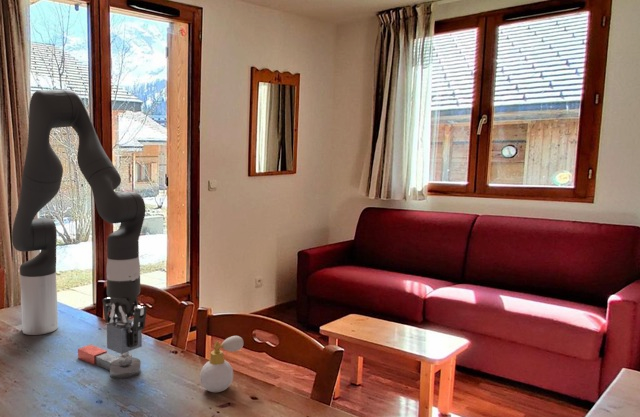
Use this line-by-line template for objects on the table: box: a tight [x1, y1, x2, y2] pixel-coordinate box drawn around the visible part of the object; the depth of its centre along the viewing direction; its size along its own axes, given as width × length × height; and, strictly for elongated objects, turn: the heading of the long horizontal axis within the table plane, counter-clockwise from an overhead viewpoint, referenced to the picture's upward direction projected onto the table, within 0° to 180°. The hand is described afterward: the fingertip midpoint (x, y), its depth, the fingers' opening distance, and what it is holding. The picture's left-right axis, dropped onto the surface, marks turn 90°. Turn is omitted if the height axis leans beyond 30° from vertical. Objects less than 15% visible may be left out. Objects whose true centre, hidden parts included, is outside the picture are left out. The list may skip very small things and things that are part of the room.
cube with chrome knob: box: [106, 318, 143, 355], centre depth 123 cm, size 6×6×6 cm
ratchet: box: [77, 344, 142, 380], centre depth 128 cm, size 20×7×6 cm, turn 57°
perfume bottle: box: [199, 335, 244, 393], centre depth 117 cm, size 8×10×12 cm
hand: (124, 343), depth 124 cm, fingers closed on cube with chrome knob, 5 cm apart
